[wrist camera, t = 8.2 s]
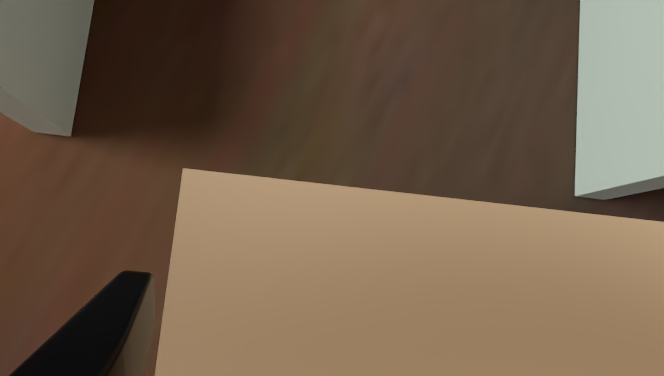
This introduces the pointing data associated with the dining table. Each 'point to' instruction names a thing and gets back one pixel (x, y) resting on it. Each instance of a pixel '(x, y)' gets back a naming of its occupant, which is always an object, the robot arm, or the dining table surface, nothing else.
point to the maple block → (403, 285)
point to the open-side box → (592, 103)
